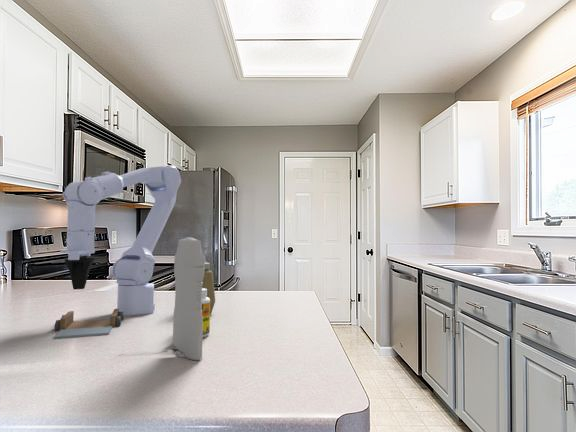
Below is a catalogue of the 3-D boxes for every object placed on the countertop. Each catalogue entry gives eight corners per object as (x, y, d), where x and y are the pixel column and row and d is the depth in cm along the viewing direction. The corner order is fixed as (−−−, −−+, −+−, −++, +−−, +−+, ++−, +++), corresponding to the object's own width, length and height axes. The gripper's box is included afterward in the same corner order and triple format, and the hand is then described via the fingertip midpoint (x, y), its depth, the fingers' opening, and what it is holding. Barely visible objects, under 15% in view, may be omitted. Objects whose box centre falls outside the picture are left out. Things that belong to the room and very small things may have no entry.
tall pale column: (211, 358, 66) (213, 237, 67) (190, 364, 63) (193, 237, 64) (183, 345, 73) (185, 236, 75) (164, 349, 71) (166, 236, 72)
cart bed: (123, 323, 91) (123, 308, 91) (119, 331, 83) (120, 315, 83) (63, 327, 87) (64, 311, 87) (54, 336, 79) (54, 319, 79)
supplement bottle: (188, 340, 77) (189, 292, 77) (180, 334, 81) (181, 288, 82) (213, 336, 80) (214, 289, 80) (204, 331, 84) (205, 286, 85)
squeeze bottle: (183, 313, 103) (184, 249, 104) (211, 310, 107) (212, 249, 108) (188, 319, 96) (189, 251, 97) (218, 316, 99) (219, 250, 100)
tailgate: (112, 326, 82) (108, 332, 77) (111, 331, 82) (108, 338, 76) (61, 329, 78) (54, 336, 73) (61, 335, 78) (53, 342, 73)
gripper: (69, 231, 92) (67, 285, 91) (53, 231, 78) (50, 294, 77) (100, 231, 94) (98, 284, 93) (90, 231, 80) (87, 293, 80)
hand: (79, 288), depth 85 cm, fingers closed
